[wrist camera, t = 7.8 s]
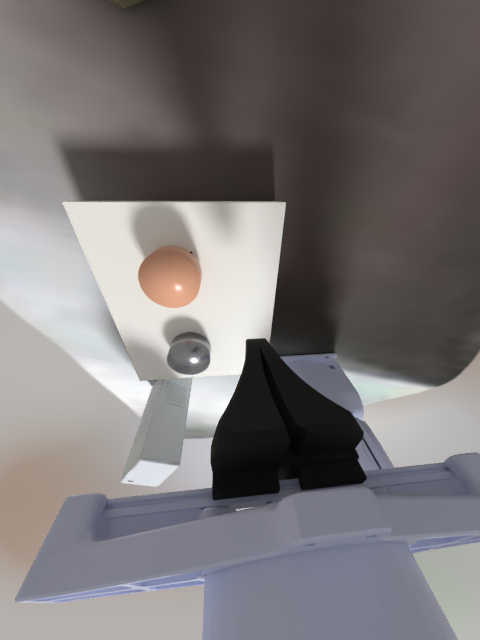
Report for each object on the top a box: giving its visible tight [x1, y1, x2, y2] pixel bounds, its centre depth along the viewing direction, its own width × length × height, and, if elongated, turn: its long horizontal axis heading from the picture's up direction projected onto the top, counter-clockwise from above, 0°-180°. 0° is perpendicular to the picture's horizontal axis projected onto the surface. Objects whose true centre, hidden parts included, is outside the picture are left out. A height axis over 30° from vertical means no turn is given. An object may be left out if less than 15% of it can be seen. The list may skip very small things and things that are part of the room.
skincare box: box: [120, 377, 192, 486], centre depth 24 cm, size 6×4×12 cm
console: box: [62, 201, 286, 381], centre depth 21 cm, size 16×19×4 cm
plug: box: [167, 332, 211, 375], centre depth 22 cm, size 4×4×5 cm
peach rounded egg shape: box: [138, 245, 202, 308], centre depth 16 cm, size 4×4×5 cm
